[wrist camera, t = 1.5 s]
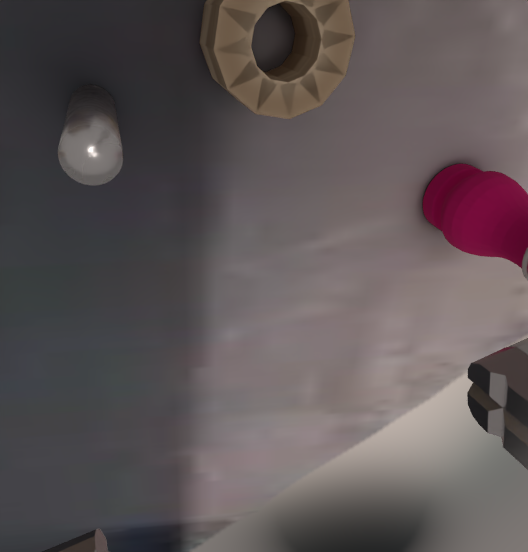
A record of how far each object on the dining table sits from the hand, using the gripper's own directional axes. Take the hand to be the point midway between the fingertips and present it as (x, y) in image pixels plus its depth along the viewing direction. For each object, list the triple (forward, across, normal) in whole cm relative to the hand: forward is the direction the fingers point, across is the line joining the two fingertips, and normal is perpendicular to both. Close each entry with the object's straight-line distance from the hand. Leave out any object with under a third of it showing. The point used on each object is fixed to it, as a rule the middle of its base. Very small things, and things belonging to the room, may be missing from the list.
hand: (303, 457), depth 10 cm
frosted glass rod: (+31, +2, -4) cm, 31 cm away
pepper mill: (+30, -27, +11) cm, 42 cm away
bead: (+30, -11, -6) cm, 32 cm away
